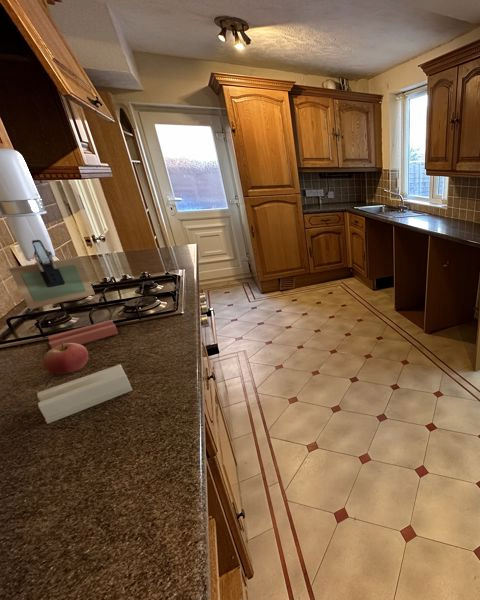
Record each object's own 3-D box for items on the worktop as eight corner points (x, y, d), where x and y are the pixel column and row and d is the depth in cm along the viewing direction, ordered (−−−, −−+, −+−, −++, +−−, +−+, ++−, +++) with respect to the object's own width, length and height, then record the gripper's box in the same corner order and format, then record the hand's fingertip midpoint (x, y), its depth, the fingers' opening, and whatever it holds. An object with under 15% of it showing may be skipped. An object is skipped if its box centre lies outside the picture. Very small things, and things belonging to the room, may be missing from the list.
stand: (53, 347, 93) (47, 335, 91) (115, 330, 102) (110, 318, 101) (55, 357, 88) (49, 345, 86) (120, 338, 97) (115, 326, 96)
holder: (45, 406, 70) (36, 391, 68) (125, 376, 80) (119, 362, 78) (47, 424, 65) (38, 408, 64) (132, 390, 75) (126, 376, 73)
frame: (29, 307, 78) (8, 268, 74) (94, 293, 86) (78, 256, 82) (29, 309, 77) (9, 269, 73) (95, 294, 85) (79, 258, 81)
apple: (100, 359, 87) (89, 333, 84) (82, 376, 80) (69, 349, 77) (64, 364, 85) (51, 337, 82) (42, 382, 78) (27, 354, 75)
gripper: (-5, 207, 75) (31, 281, 82) (-5, 213, 65) (36, 296, 73) (41, 204, 80) (71, 274, 87) (47, 209, 71) (81, 287, 78)
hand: (55, 284), depth 80 cm, fingers closed on frame, 1 cm apart
